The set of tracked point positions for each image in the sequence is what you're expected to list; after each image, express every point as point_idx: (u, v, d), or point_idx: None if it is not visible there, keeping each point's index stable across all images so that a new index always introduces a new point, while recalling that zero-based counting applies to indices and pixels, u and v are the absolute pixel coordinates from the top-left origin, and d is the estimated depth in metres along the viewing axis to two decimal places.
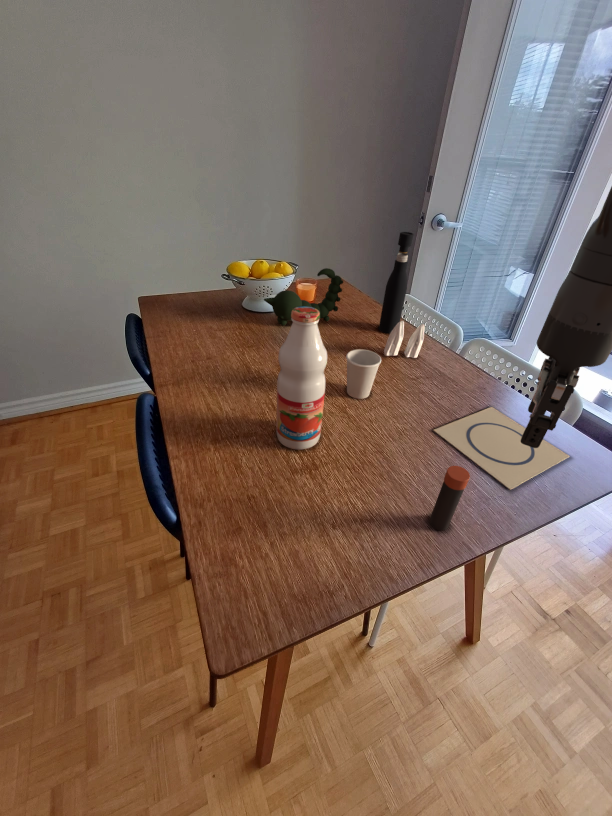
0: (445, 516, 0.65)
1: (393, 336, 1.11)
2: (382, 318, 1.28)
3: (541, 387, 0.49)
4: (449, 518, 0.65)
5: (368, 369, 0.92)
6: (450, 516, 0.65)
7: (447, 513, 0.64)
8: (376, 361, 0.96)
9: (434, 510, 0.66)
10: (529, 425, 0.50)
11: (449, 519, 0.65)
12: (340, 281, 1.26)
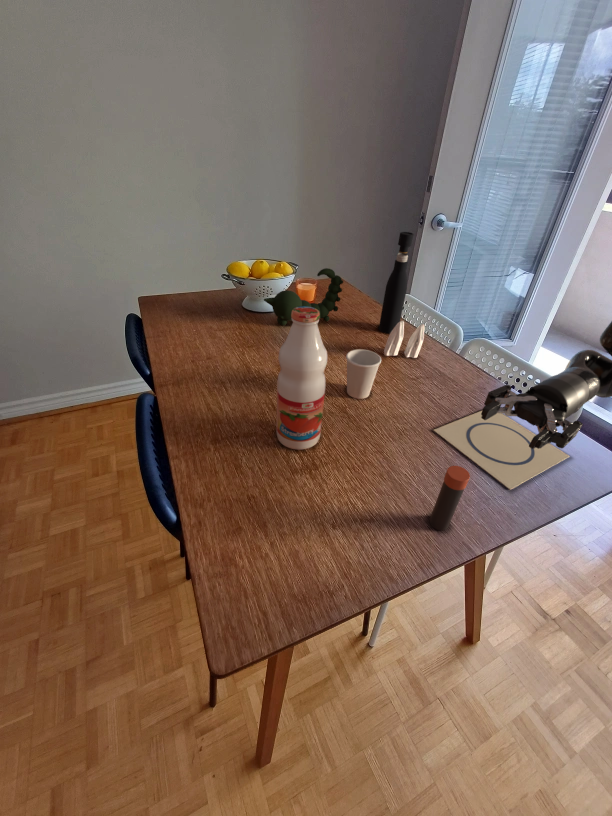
0: (445, 516, 0.65)
1: (393, 336, 1.11)
2: (382, 318, 1.28)
3: None
4: (449, 518, 0.65)
5: (368, 369, 0.92)
6: (450, 516, 0.65)
7: (447, 513, 0.64)
8: (376, 361, 0.96)
9: (434, 510, 0.66)
10: None
11: (449, 519, 0.65)
12: (340, 281, 1.26)
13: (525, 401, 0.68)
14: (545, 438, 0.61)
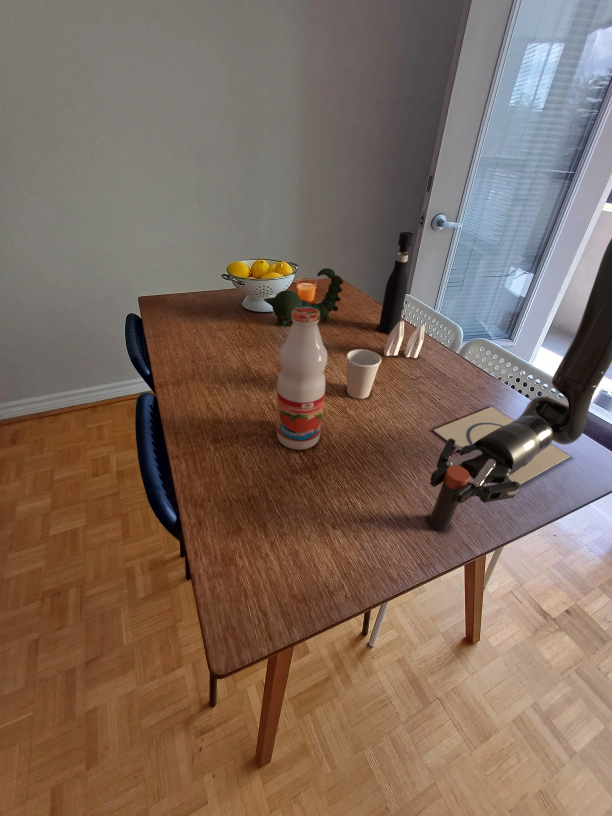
0: (445, 516, 0.65)
1: (393, 336, 1.11)
2: (382, 318, 1.28)
3: None
4: (449, 518, 0.65)
5: (368, 369, 0.92)
6: (450, 516, 0.65)
7: (447, 513, 0.64)
8: (376, 361, 0.96)
9: (434, 510, 0.66)
10: None
11: (449, 519, 0.65)
12: (340, 281, 1.26)
13: (473, 458, 0.65)
14: (467, 493, 0.59)
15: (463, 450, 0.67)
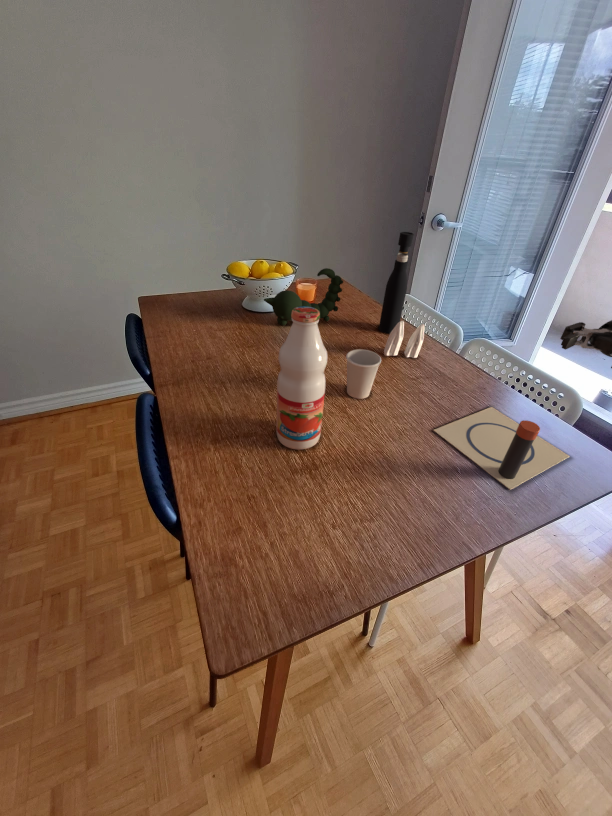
0: (515, 465, 0.75)
1: (393, 336, 1.11)
2: (382, 318, 1.28)
3: None
4: (518, 467, 0.76)
5: (368, 369, 0.92)
6: (519, 465, 0.75)
7: (517, 462, 0.75)
8: (376, 361, 0.96)
9: (504, 461, 0.77)
10: None
11: (518, 468, 0.76)
12: (340, 281, 1.26)
13: (601, 333, 0.74)
14: None
15: None
